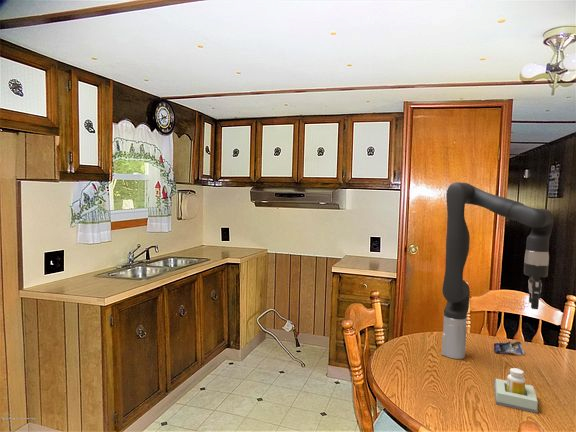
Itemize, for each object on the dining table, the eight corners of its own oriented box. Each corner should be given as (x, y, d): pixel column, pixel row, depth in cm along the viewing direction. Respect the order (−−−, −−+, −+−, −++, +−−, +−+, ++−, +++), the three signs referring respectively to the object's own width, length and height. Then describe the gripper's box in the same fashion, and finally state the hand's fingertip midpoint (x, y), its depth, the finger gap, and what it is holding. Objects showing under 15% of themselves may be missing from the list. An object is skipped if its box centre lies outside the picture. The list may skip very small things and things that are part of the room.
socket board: (496, 404, 131) (496, 393, 131) (493, 382, 146) (494, 372, 146) (538, 413, 126) (538, 401, 126) (531, 389, 141) (531, 379, 141)
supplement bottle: (502, 395, 135) (504, 368, 134) (512, 392, 137) (514, 365, 137) (517, 403, 130) (519, 375, 130) (527, 399, 133) (529, 372, 132)
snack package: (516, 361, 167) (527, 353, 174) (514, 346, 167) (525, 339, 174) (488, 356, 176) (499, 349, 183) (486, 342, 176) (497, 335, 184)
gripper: (523, 258, 152) (520, 299, 153) (526, 264, 139) (523, 309, 140) (545, 260, 148) (543, 302, 150) (551, 267, 136) (547, 312, 137)
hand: (533, 305), depth 145 cm, fingers open, 8 cm apart
